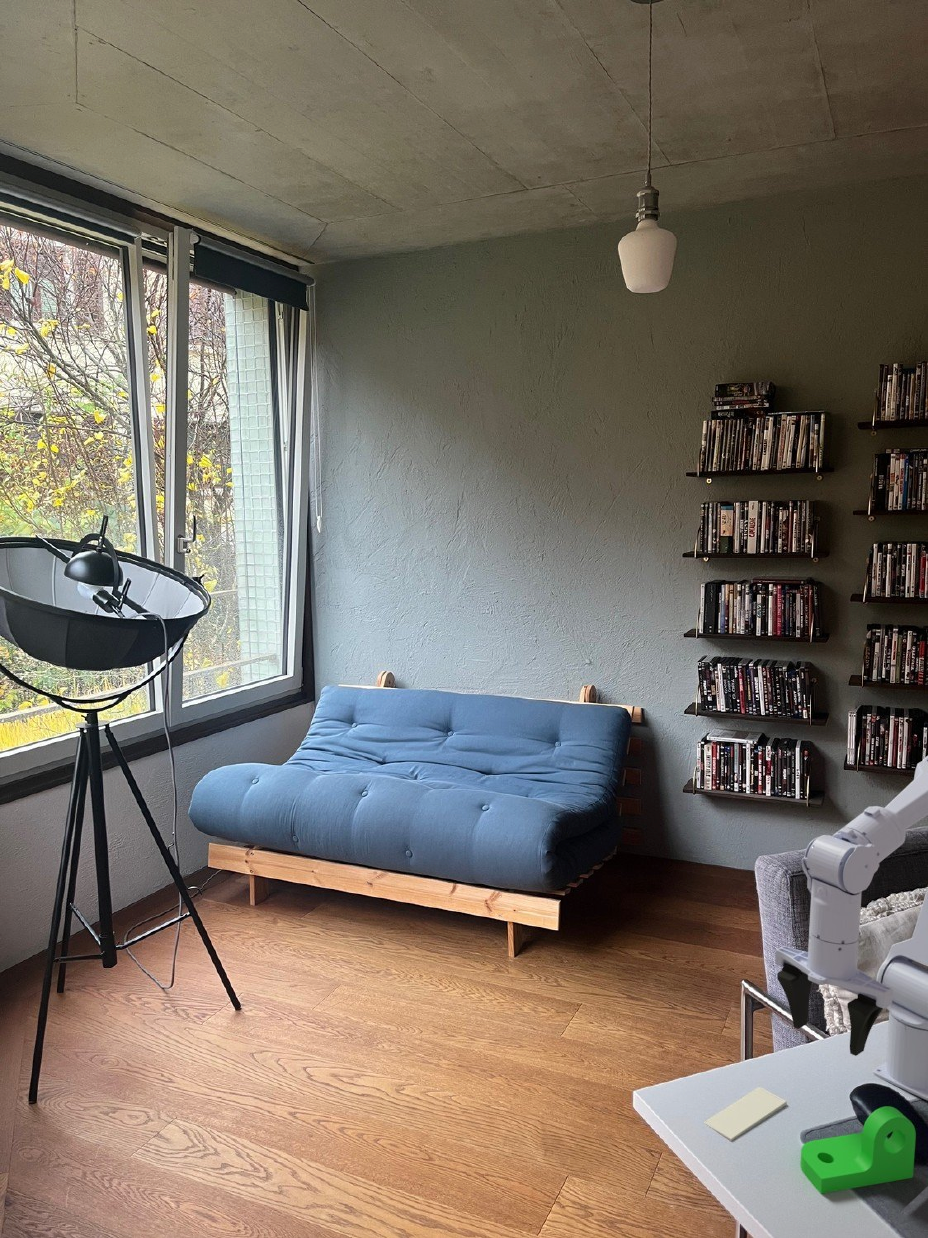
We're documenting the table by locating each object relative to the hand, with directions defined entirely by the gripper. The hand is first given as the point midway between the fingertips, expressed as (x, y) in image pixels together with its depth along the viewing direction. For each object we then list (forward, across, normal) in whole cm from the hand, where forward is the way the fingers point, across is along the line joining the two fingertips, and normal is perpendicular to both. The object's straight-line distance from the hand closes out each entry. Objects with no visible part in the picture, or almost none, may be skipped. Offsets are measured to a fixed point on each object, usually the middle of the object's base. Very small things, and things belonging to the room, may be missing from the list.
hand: (827, 1038), depth 118 cm
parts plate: (+10, -6, -8) cm, 14 cm away
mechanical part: (+11, +7, -6) cm, 14 cm away
